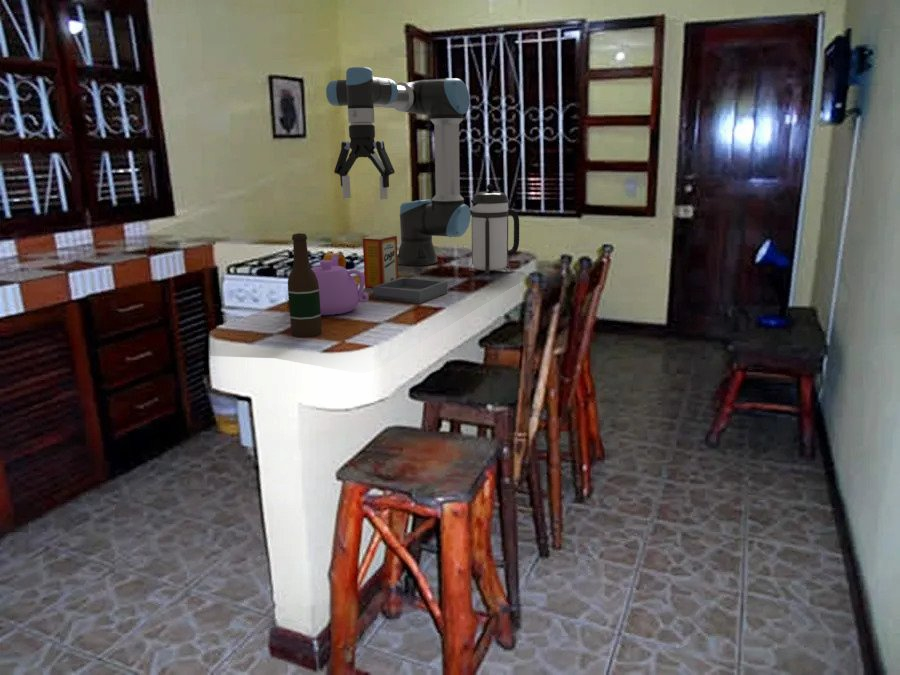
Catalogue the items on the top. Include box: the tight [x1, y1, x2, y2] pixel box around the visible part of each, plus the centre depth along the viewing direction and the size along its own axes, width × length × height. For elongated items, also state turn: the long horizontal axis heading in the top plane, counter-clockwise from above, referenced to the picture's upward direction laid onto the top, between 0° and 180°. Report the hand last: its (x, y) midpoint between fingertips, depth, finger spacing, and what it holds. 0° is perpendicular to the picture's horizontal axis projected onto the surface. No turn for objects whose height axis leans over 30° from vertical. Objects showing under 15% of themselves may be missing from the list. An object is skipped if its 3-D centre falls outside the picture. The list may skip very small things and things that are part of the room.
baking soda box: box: [362, 234, 399, 290], centre depth 220 cm, size 10×6×16 cm
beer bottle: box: [287, 232, 323, 338], centre depth 165 cm, size 8×8×24 cm
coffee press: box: [468, 183, 520, 276], centre depth 240 cm, size 17×16×30 cm
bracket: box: [322, 252, 359, 288], centre depth 212 cm, size 11×7×12 cm, turn 153°
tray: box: [372, 276, 448, 305], centre depth 208 cm, size 16×16×4 cm
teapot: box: [287, 255, 370, 316], centre depth 191 cm, size 22×22×14 cm
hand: (365, 198), depth 209 cm, fingers open, 13 cm apart
